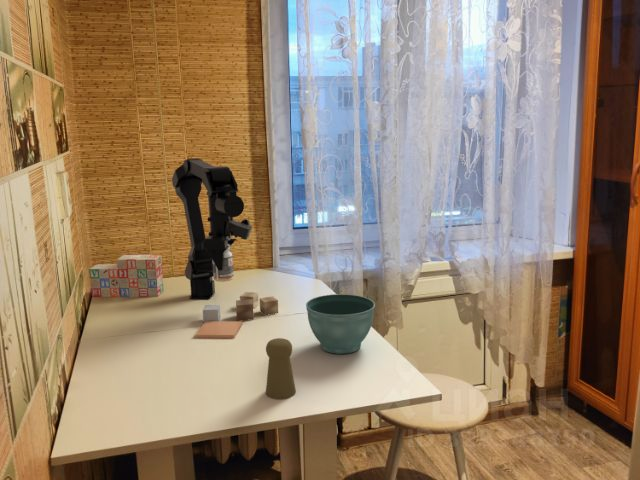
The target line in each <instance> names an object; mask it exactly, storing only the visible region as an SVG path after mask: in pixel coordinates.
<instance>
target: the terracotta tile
mask: <svg viewBox="0 0 640 480" xmlns="http://www.w3.org/2000/svg"><path fill="white" fill-rule="evenodd" d="M242 326H243V321H237V320H236V321H233V320H232V321H231V320H229V321H225V320H222V321H221V320H220V321H206V322H205V323H204V324H202V326H201V327H200V328H199V329H198V331H197V332H196V333H195V335H194V336H195V339H235V338H236V336H237V335H238V333H239V331H240V330H241V328H242Z"/></svg>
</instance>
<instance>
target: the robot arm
mask: <svg viewBox="0 0 640 480" xmlns="http://www.w3.org/2000/svg"><path fill="white" fill-rule="evenodd" d="M171 182H172V187H173V188H174V192H175V193H176V196H177V197H178V198H179V199H180V200H181V201H182V203H183V207H184V208H183V210H184V213H185V219H186V225H187V230H188V235H189V241H190V247H191V248H190V250H189V253H188V255H187V263H186V266H185V269H184V274H185V275H184V276H185V278H186V279H187V280H189V284H190V295H189V299H191V300H197V299H198V300H206V299H207V300H209V299H211V298H212V297H213V296H214V295H215V293H216V289H215V288H216V286H215V285H216V284H215V280H214V276H213V263H212V260H213V261H214V263H215V265H216V267H217V269H218V270H222V269H223V260H224V252H225V251H226V249H227V248H228V247H229V246H227V245H228V244H229V245H230V250H229V251H230V252H231V247H232V245H233V244H234V243H235V242H236V241H237V238H240V239H241V240H248V239H249V238H250V234H251V232H252V230H253V229H252V227H253V226H252V225H251V224H250V220H249V219H246V218H244V219H242V220H241V221H239V220H238V221H237V220H234V218H236V217H239V216H241V215H242V213H243V212H244V209H245V203H244V201H243V198H242V197H240V196H238V195H237V192H239V189H238V187H239V185H238V183H237V180H236V178H235V176H234V174H233V172H232V170H231V169H230V167H229V166H227V165H226V166H225V165H224V166H223V165H221V166H215V165H212V164H210V163H208V162H205V161H204V160H203V159H202V158H196V157H195V158H186V159H185V160H183V163H182V164H181V165H180V166H179V167H177V168H176V169H175V170H174V173H173V175H172V179H171ZM202 184H203V185H204V187H205V189H206V195H207V197H208V212H209V213H208V214H209V215H208V217H207V222H209V228H210V229H209V230H210V231H209V232H208V236H206V233H205V227H204V221H203V215H202V211H201V206H200V200H199V196H200V194H201V192H202V189H203V188H202ZM232 236H233V237H235V238H233V237H232Z"/></svg>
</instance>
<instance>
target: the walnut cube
mask: <svg viewBox="0 0 640 480" xmlns="http://www.w3.org/2000/svg"><path fill="white" fill-rule="evenodd" d="M235 309H236V310H235V311H236V321H238V322H240V321H239V320H243V321H249V320H248V319H255V317H254V314H255V313H254V310H253V301H252V299H250V300H240V299H239V300H237V299H236V300H235Z"/></svg>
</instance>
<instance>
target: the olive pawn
mask: <svg viewBox="0 0 640 480" xmlns="http://www.w3.org/2000/svg"><path fill="white" fill-rule="evenodd" d="M265 352H266V355H267V357H268V367H267V375H266V386H265V395H266V397H268V398H270V399H272V400H273V399H274V400H286V399H290V398H291V397H293V396H295V394H296V392H297V390H296V383H295V378H294V372H293V366H292V361H291V355H292V353H293V344H292V343H291V341H290V340H288V339H287V338H282V337H278V338H273V339H271V340H269V341H268V342H267V343H266V346H265Z"/></svg>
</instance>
